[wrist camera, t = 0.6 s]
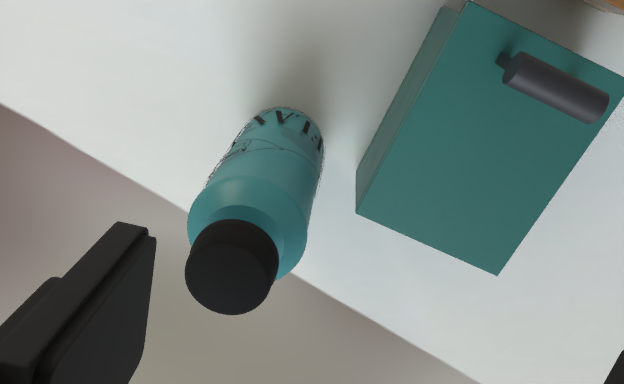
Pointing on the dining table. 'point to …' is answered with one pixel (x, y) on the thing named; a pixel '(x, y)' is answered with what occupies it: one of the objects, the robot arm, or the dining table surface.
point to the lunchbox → (404, 97)
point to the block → (608, 5)
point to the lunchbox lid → (489, 139)
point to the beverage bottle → (254, 212)
